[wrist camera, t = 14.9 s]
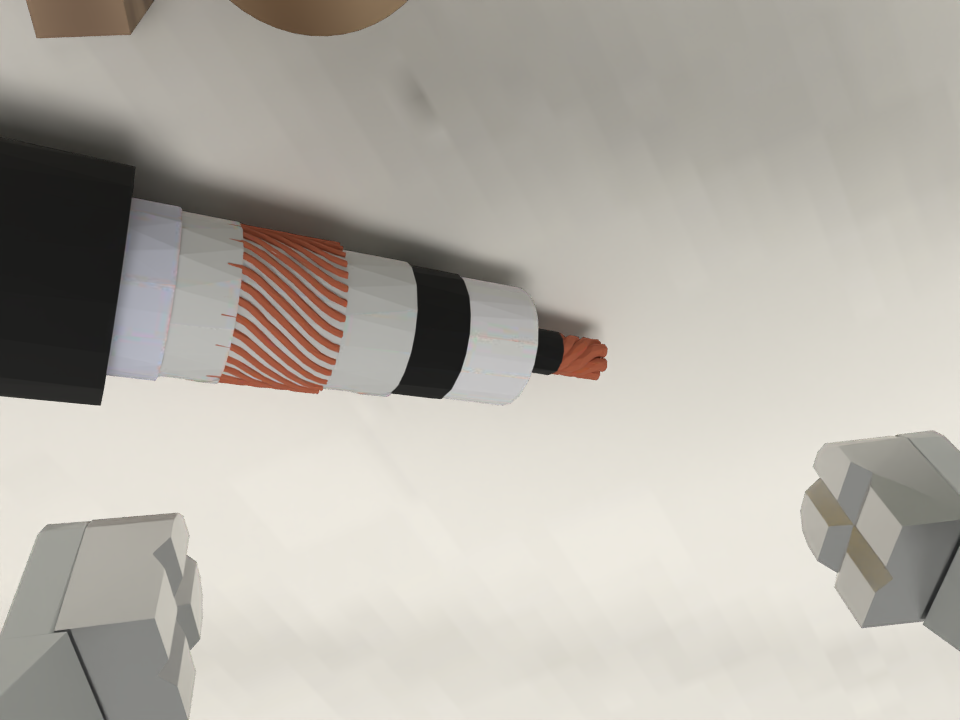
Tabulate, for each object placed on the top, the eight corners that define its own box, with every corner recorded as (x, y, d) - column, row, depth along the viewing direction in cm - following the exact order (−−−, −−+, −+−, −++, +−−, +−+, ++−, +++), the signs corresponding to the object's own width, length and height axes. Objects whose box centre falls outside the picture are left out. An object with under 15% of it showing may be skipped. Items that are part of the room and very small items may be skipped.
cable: (539, 326, 51) (562, 482, 46) (-127, 213, 37) (-192, 421, 32) (633, 229, 43) (672, 404, 38) (-166, 39, 29) (-259, 279, 24)
